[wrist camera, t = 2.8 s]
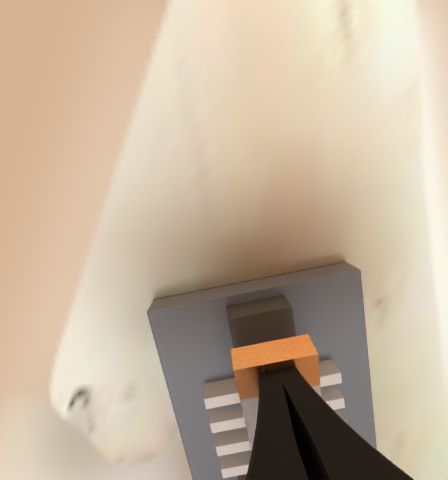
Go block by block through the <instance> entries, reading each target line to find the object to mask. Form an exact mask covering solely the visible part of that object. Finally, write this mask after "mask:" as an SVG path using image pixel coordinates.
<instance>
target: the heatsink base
mask: <svg viewBox="0 0 448 480" xmlns="http://www.w3.org/2000/svg"><path fill="white" fill-rule="evenodd" d="M147 314H148V318H149V322H150V325H151V329H152V333H153V336H154V340H155V343H156V347H157V351H158V354H159V358H160V362H161V365H162V369H163V373H164V376H165V380H166V383H167V387H168V391H169V394H170V398H171V402H172V405H173V409H174V413H175V416H176V420H177V423H178V427H179V431H180V434H181V438H182V442H183V445H184V449H185V453H186V456H187V460H188V463H189V467H190V471H191V474H192V478H193V480H245V479H246V475H247V471H248V467H249V462H250V457H251V452H252V450H251V445H250V441H249V437H248V432H247V428H246V424H245V419H244V415H243V411H242V406H241V402H240V398H239V393H238V389H237V385H236V380H235V376H234V372H233V365H232V356H231V349H233V348H239V347H244V346H249V345H254V344H259V343H264V342H269V341H274V340H280V339H285V338H290V337H295V336H300V335H305V334H308V335H309V337H310V339H311V341H312V343H313V345H314V347H315V348H316V350H317V352H318V356H319V371H320V387H321V398H322V399H323V400H324V401H325V402H326V403H327V404H328V405H329V406H330V407H331V408H332V409H333V410H334V411H335V412H336V413H337V414H338V415H339V416H340V417H341V418H342V419H343V420H344V421H345V422H346V423H347V424H348V425H349V426H350V427H351V428H353V429H354V430H355V431H356V432H357V433H358V434H359V435H360V436H361V437H362V438H363V439H365V440H366V441H367V442H368V443H369V444H370V445H371V446H373V447H374V448H375V449H376V450H377V448H376V437H375V426H374V415H373V404H372V393H371V382H370V371H369V360H368V349H367V338H366V327H365V316H364V305H363V294H362V283H361V272H360V270H359V269H357V268H356V267H354V266H352V265H350V264H349V263H347V262H343V263H338V264H333V265H328V266H323V267H318V268H313V269H307V270H302V271H297V272H292V273H287V274H282V275H277V276H272V277H267V278H262V279H256V280H251V281H246V282H241V283H236V284H231V285H226V286H221V287H216V288H210V289H205V290H200V291H195V292H190V293H185V294H180V295H175V296H170V297H164V298H159V299H154V300H153V302H152V303H151V305H150V307H149V309H148V311H147Z"/></svg>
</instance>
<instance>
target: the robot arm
mask: <svg viewBox="0 0 448 480" xmlns="http://www.w3.org/2000/svg"><path fill="white" fill-rule="evenodd" d="M258 381H259V401H258V412H257V422H256V429H255V435H254V441H253V447H252V452H251V457H250V462H249V467H248V471H247V475H246V479H245V480H414V479H412V478H411V477H410V476H409V475H407V474H406V473H405V472H403V471H402V470H401V469H400V468H398V467H397V466H396V465H394V464H393V463H392V462H391V461H389V460H388V459H387V458H386V457H385V456H383V455H382V454H381V453H380V452H379V451H377V450H376V449H375V448H374V447H373V446H371V445H370V444H369V443H368V442H367V441H366V440H365V439H363V438H362V437H361V436H360V435H359V434H358V433H357V432H356V431H355V430H354V429H353V428H351V427H350V426H349V425H348V424H347V423H346V422H345V421H344V420H343V419H342V418H341V417H340V416H339V415H338V414H337V413H336V412H335V411H334V410H333V409H332V408H331V407H330V406H329V405H328V404H327V403H326V402H325V401H324V400H323V399H322V398H321V397H320V396H319V394H318V393H317V392H316V391H315V390H314V389H313V388H312V387H311V385H310V384H309V383H308V382H307V381H306V380H305V378H304V377H303V376H302V375H301V373H300V372H299V371H298V369H297V368H295V367H294V366H292V367H287V368H283V369H277V370H272V371H267V372H262V373H260V374H259V375H258Z"/></svg>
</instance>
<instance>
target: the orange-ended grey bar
mask: <svg viewBox="0 0 448 480" xmlns="http://www.w3.org/2000/svg"><path fill="white" fill-rule="evenodd" d="M231 356H232V365H233V372H234V376H235V380H236V385H237V389H238V393H239V398H240V402H241V406H242V411H243V415H244V419H245V424H246V428H247V432H248V437H249V441H250V445H251V450H252V447H253V441H254V435H255V429H256V422H257V412H258V401H259V381H258V375H259V374H260V373H262V372H267V371H272V370H277V369H283V368H287V367H292V366H294V367H295V368H297V369H298V371H299V372H300V373H301V375H302V376H303V377H304V378H305V380H306V381H307V382H308V383H309V384H310V385H311V387H312V388H313V389H314V390H315V391H316V392H317V393H318V394H319V396H320V397H321V387H320V371H319V356H318V352H317V350H316V348H315V347H314V345H313V343H312V341H311V339H310V337H309V335H308V334H305V335H300V336H295V337H290V338H285V339H280V340H274V341H269V342H264V343H259V344H254V345H249V346H244V347H239V348H233V349H231Z"/></svg>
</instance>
